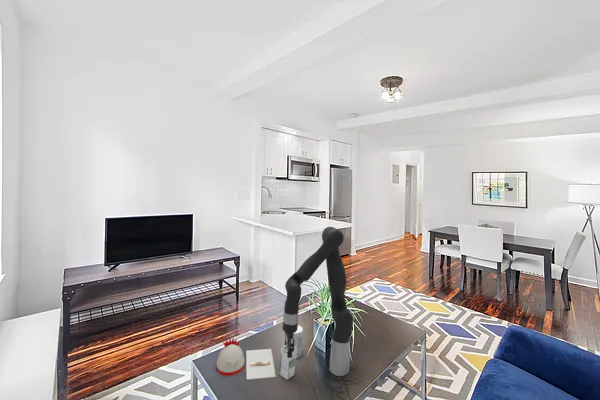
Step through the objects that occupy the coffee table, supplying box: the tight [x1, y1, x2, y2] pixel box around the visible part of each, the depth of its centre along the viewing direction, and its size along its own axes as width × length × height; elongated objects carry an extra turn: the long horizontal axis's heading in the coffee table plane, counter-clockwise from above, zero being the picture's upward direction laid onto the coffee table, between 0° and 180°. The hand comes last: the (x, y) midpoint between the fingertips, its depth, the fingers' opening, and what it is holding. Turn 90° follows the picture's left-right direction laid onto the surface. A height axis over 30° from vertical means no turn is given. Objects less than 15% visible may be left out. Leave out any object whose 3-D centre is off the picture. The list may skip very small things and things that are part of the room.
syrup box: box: [278, 344, 297, 381], centre depth 134 cm, size 6×6×14 cm
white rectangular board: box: [245, 348, 277, 381], centre depth 141 cm, size 14×22×1 cm, turn 12°
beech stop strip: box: [250, 361, 270, 367], centre depth 140 cm, size 10×2×1 cm, turn 102°
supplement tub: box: [293, 324, 304, 359], centre depth 151 cm, size 10×10×15 cm
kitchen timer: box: [216, 337, 245, 377], centre depth 138 cm, size 14×14×15 cm
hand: (288, 351), depth 134 cm, fingers open, 8 cm apart
